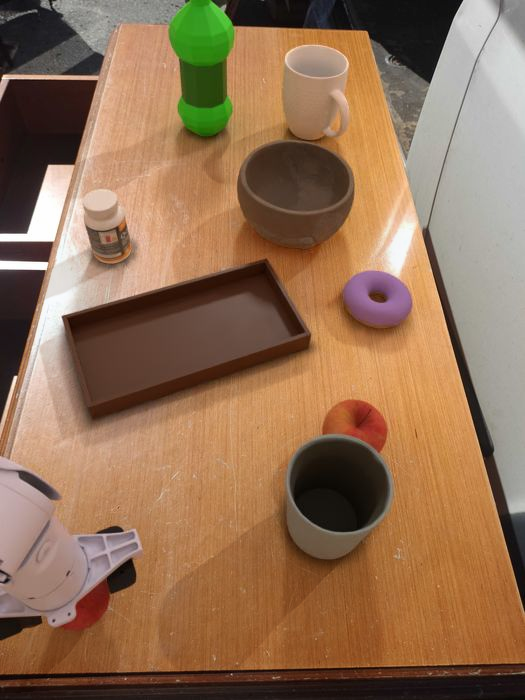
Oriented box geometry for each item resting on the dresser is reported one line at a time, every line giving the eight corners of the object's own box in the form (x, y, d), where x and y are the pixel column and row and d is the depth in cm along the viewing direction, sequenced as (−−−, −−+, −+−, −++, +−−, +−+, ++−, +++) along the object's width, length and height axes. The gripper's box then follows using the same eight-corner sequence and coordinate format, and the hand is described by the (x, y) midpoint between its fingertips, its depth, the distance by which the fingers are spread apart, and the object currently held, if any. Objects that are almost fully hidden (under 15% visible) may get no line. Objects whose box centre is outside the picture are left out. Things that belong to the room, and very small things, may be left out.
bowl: (330, 276, 83) (341, 226, 75) (219, 245, 86) (218, 193, 78) (357, 204, 93) (369, 152, 85) (256, 178, 96) (258, 126, 87)
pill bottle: (136, 260, 84) (125, 208, 75) (98, 269, 82) (83, 217, 74) (127, 234, 87) (116, 182, 78) (90, 243, 85) (74, 191, 77)
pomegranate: (58, 643, 54) (34, 630, 48) (54, 583, 57) (31, 563, 51) (119, 626, 55) (103, 611, 49) (112, 567, 58) (96, 546, 52)
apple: (305, 442, 68) (313, 411, 61) (348, 409, 70) (359, 375, 64) (348, 487, 65) (361, 459, 58) (390, 451, 67) (407, 420, 61)
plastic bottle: (214, 151, 99) (209, -1, 79) (166, 131, 102) (149, -21, 82) (244, 124, 104) (247, -25, 84) (198, 106, 107) (190, -44, 87)
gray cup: (385, 519, 63) (414, 478, 53) (330, 590, 58) (351, 560, 48) (315, 462, 66) (330, 413, 56) (258, 524, 62) (263, 484, 52)
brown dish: (92, 420, 68) (87, 407, 66) (66, 329, 76) (61, 315, 73) (309, 347, 76) (311, 334, 73) (265, 272, 83) (266, 257, 81)
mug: (363, 146, 102) (378, 77, 92) (316, 166, 98) (327, 97, 88) (312, 106, 109) (321, 38, 98) (267, 124, 105) (271, 54, 94)
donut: (421, 299, 81) (427, 281, 77) (390, 348, 78) (395, 332, 74) (361, 269, 84) (364, 250, 80) (329, 315, 81) (330, 298, 77)
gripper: (-62, 657, 38) (5, 675, 49) (145, 571, 42) (163, 606, 53) (-71, 558, 42) (-6, 596, 53) (120, 487, 45) (142, 537, 57)
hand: (78, 596), depth 53 cm, fingers open, 7 cm apart
